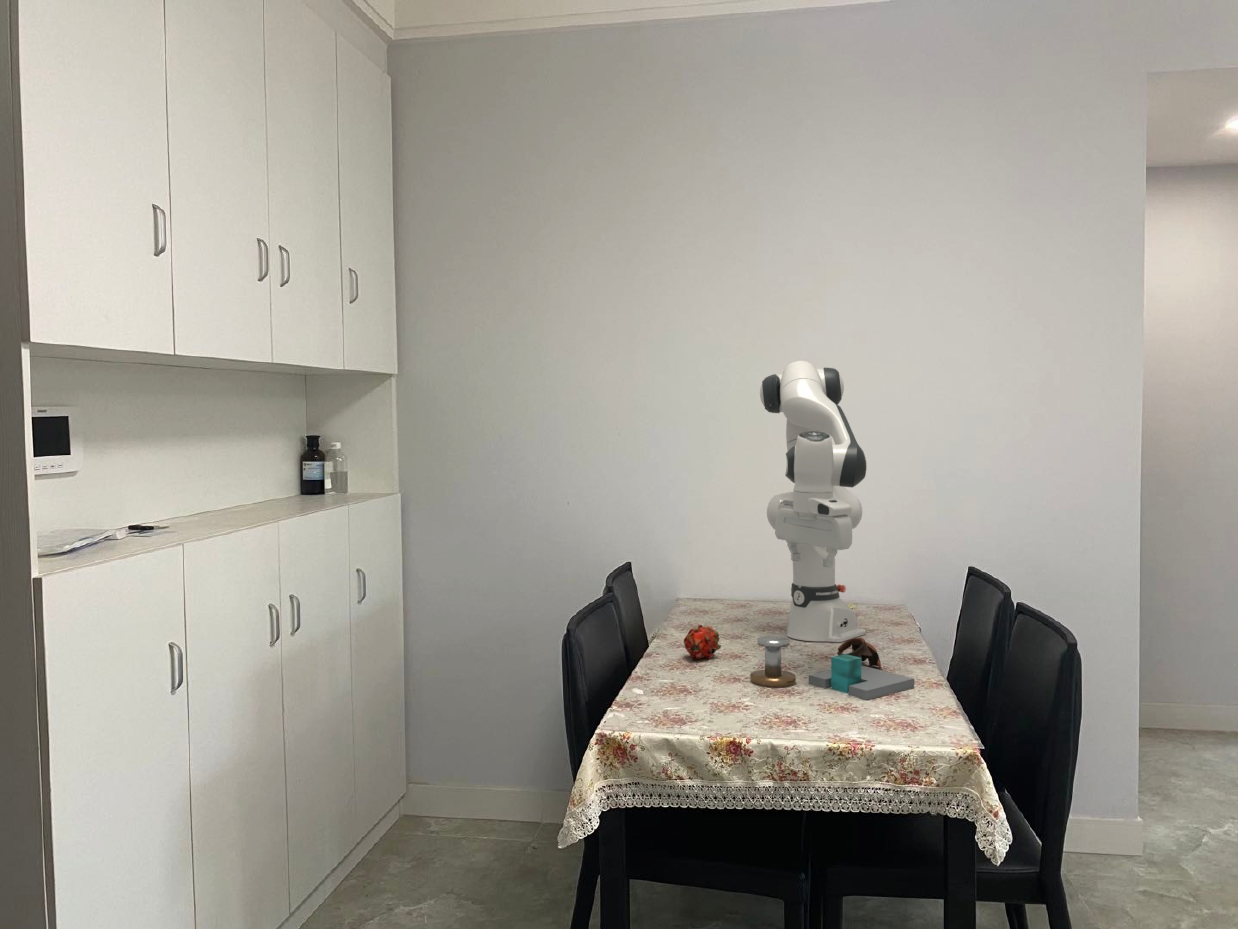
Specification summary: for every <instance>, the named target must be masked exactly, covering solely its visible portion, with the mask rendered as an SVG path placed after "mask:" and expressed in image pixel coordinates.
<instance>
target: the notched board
mask: <svg viewBox="0 0 1238 929" xmlns="http://www.w3.org/2000/svg"><path fill="white" fill-rule="evenodd" d="M808 685H811V686H815V687H818V688H823V689H827V688H831V669H829V670H824V671H820V672H815V673H811V674H808ZM914 688H915V678H914V677H909V676H905V675H901V674H897V673H893V672H889V671H886V670H879V669H878V668H873V667H871V666H865V665H862V664H861V683H858V684H854V685H850V686H849V693H848V696H850V697H854V698H858V699H862V700H864V701H869V700H872V699H875V698H879V697H884V696H887V695H892V694H895V693H900V692H904V691H906V690H910V689H914Z"/></svg>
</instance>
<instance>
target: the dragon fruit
mask: <svg viewBox="0 0 1238 929" xmlns="http://www.w3.org/2000/svg"><path fill="white" fill-rule="evenodd" d="M719 636H720V634H719V632H718V631H716V630H714V629H713V626H709V625H708V626H704V625H702V624H698V626H697V628H695V627H694V628H690V630H689V631H688V632H687V634H686V636H685V637H684V639H683V644H684V648H685V649H686V652H688V654H689V655H690V658H691V660H692V661H695V660H696V661H698V660H700V659H702V658H706V659H708V660H710V659H712V658H713V657H714V656H715V653H716V652H717V651H719V650H721V648H722V646H721V645H720V644H719V641H720V637H719Z"/></svg>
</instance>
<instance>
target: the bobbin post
mask: <svg viewBox="0 0 1238 929" xmlns="http://www.w3.org/2000/svg"><path fill="white" fill-rule="evenodd" d="M756 643H757V645H758V646H761V647H764V669H757V670H754V671H752V672H751V673H750V674H749V675H750V678H749V680H750V683H751V684H753V685H755V686H759V687H762V688H771V689H772V688H773V689H778V688H779V689H781V688H788V687H792V686H794V685H796V683H797V680H796V679H797V676H796V674H795V673H793V672H791V671H788V670H785V669H784V670H783V669H782V648H786V647H789V646H790V639H789V637H785V636H784V637H783V636H779V635H766V636H764V635H763V636H759V637H757V640H756Z"/></svg>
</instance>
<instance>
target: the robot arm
mask: <svg viewBox="0 0 1238 929" xmlns="http://www.w3.org/2000/svg"><path fill="white" fill-rule="evenodd" d="M844 390H845V385H844V380H843V378H842V376H841V375H840V372H839V370H837V369H836V368H834V367H823V368H816V366H815V365H813V363H811V362H809V361H806V360H796V361H793V362H791V363H789V364H788V365H786V367H785V368H784V370H783V371H782V373H778V374H776V373H774V374H770V375H768V376H766V377H764V379H763V380H762V383H761V385H760V389H759V396H760V402H761V403H762V405H763V407H764V410H766V411H767V412H768V413H772V414H780V413H783V415H784V417H785V419H786V424H785V425H786V427H785V428H786V429H785V430H786V431H785V432H786V433H785V436H786V437H785V438H786V448H787V451H786V453H785V456H786V470H785V477H786V478H787V479H788V480H789V481H790V482H792V483H793V484H794V486H793V490H792V491H788V492H783V493H780V494H776V495H773V497H771V499H770V501H769V502H768V505H767V507H766V508H767V509H766V518H767V521H768V523H769V524H770V527H772V529H773V530H774V534H775V537H776V539H777V540H781V541H785V542H786V545H787V548H788V550H789V552H790V557H791V558H790V560H791V562H792V583H791V588H790V592H791V593H790V595H791V598H792V599H791V600H792V601H791V602H790V609H789V617H788V625H787V626H786V636H787V638H790V639H794V640H800V641H804V642H805V641H807V642H830V643H831V642H833V643H841V642H843V643H844V642H846V641H848V640H850V639H853V638H859V637H861V636H863V635H866V634H867V631H866V629H864V628H862V627H859V626H858V621H857V620H858V618H857V613H856V611H855V610H854V609H853V608H852V607H850V606H849V605H848V603H846V602H845V601H844V600H842V599H841V596H840V593H842V594H843V593H845V592H846V591H847V588H846V587H847V586H846V585H845V584H836V558H835V557H836V556H837V555H838V551H843V550H849V548H851V546H852V544H853V529H855V528H857V527H858V525H859V524H860V522H861V520H862V516H863V507H862V503H861V501H860V499H859V498H858V497H857V495H856V494H854V493H852V492H851V491H849V490H848V489H847V488H854V487H856V486H857V485H859V484H860V483H861V482H862V481H863V480H864V479H865V477H866V476H867V475H866V474H867V467H868V466H867V459H866V456H865V453H864V450H863V449H862V448H861V446H860V444H859V443H858V442H857V438H856V437H855V435H854V433H853V430H852V428H851V425H850V423H849V421H848V418H847V416H846V414H845V412H844V411H843V409H842V407H841V405H839V404H840V402H841V401H842V397H843V396H844ZM832 440H833V441H832ZM833 442H834V444H833ZM839 592H840V593H839Z"/></svg>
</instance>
